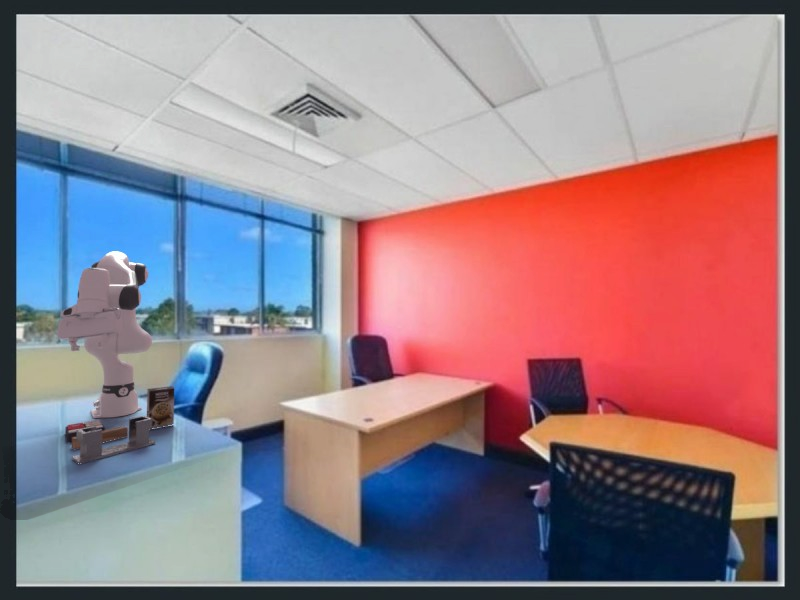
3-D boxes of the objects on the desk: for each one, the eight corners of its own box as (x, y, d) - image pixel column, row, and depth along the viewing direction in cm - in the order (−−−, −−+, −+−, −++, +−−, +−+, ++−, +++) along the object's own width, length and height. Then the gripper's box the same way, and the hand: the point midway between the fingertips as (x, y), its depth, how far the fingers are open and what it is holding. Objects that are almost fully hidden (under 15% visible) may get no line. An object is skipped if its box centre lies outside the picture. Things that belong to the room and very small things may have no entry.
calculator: (100, 418, 157) (104, 425, 147) (100, 429, 157) (104, 436, 146) (65, 424, 150) (67, 431, 139) (65, 435, 150) (67, 443, 139)
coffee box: (148, 430, 152) (149, 391, 153) (146, 427, 157) (146, 388, 157) (174, 426, 158) (174, 388, 159) (171, 422, 163) (171, 385, 164)
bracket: (72, 459, 124) (72, 430, 124) (147, 440, 142) (147, 414, 142) (78, 464, 120) (79, 434, 120) (155, 444, 138) (155, 418, 138)
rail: (71, 448, 134) (71, 437, 134) (124, 436, 147) (124, 426, 147) (74, 450, 132) (74, 439, 132) (127, 437, 145) (127, 427, 145)
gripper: (127, 308, 136) (124, 346, 132) (72, 316, 136) (67, 354, 132) (114, 304, 130) (110, 343, 126) (56, 312, 130) (51, 351, 126)
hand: (88, 349), depth 129 cm, fingers open, 8 cm apart
